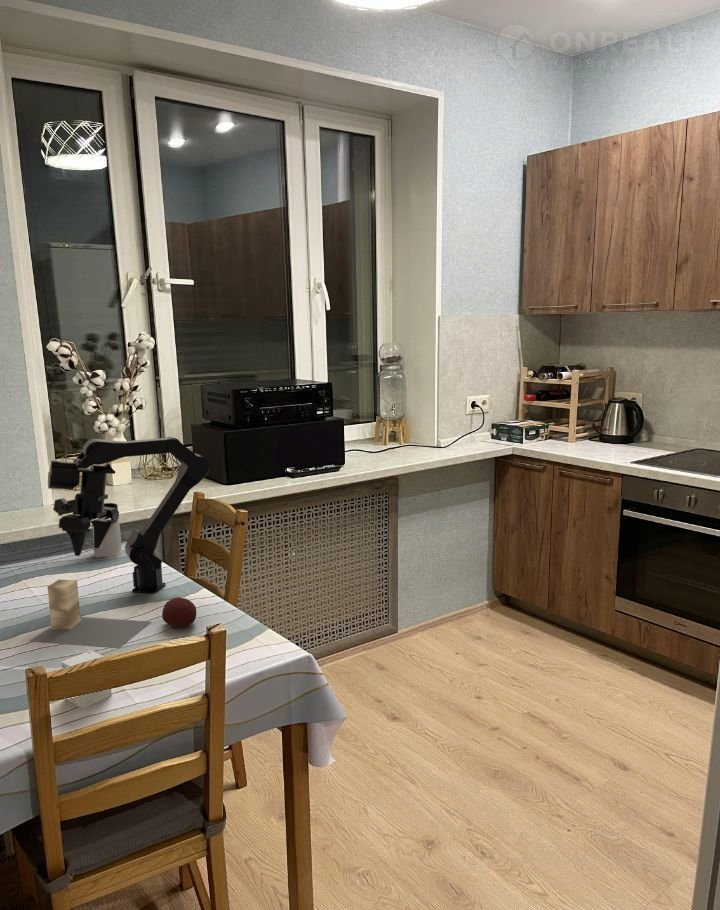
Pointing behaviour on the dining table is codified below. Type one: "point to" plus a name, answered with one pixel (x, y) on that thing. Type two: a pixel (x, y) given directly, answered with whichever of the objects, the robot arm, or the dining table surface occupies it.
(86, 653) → the product box
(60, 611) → the birch block
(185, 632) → the dining table surface
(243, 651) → the dining table surface
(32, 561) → the dining table surface
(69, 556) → the dining table surface
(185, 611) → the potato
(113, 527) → the glass holder
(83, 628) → the charcoal rubber mat
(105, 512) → the robot arm
